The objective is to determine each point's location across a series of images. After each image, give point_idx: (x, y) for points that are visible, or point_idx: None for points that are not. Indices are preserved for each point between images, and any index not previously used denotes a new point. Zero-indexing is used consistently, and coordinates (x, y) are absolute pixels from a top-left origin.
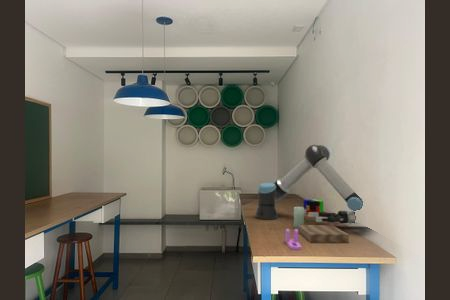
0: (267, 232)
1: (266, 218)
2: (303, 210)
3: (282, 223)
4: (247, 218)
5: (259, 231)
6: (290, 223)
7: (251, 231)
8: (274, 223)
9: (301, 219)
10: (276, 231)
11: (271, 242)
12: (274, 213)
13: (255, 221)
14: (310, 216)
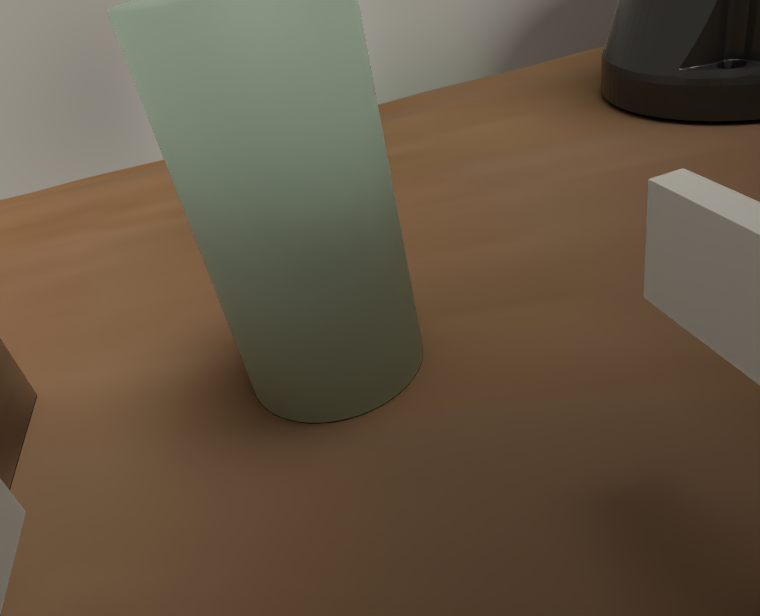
0: (76, 224)
1: (609, 91)
2: (162, 77)
3: (509, 204)
4: (563, 57)
5: (117, 191)
6: (568, 250)
7: (121, 170)
8: (465, 171)
9: (205, 260)
10: (104, 252)
11: None
12: (747, 43)
13: (476, 99)
14: (688, 317)
